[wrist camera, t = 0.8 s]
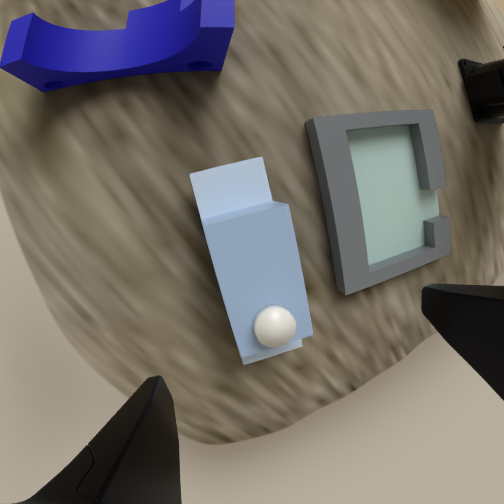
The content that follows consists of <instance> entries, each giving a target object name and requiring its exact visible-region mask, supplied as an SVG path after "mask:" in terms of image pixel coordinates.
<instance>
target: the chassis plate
mask: <svg viewBox="0 0 504 504" xmlns="http://www.w3.org/2000/svg"><path fill="white" fill-rule="evenodd" d="M305 124H306V128H307V133H308V137H309V141H310V145H311V150H312V154H313V158H314V163H315V168H316V172H317V177H318V182H319V187H320V191H321V197H322V202H323V207H324V212H325V218H326V223H327V229H328V235H329V240H330V246H331V253H332V259H333V265H334V272H335V279H336V286H337V289H338V290H339V291H341V292H342V293H343V294H345V295H349V294H351V293H354V292H357V291H359V290H362V289H365V288H367V287H370V286H373V285H375V284H378V283H380V282H383V281H386V280H388V279H391V278H393V277H396V276H398V275H401V274H403V273H406V272H408V271H411V270H413V269H415V268H418V267H420V266H423V265H425V264H427V263H430V262H432V261H434V260H437V259H439V258H441V257H443V256H446V255H448V254H450V253H451V233H450V217H445V216H440V215H439V206H438V197H437V188H441V187H445V186H447V185H446V177H445V170H444V163H443V157H442V151H441V145H440V140H439V135H438V130H437V125H436V121H435V116H434V112H433V110H404V111H383V112H368V113H356V114H345V115H335V116H327V117H318V118H313V119H311V120H309V121H307V122H305Z"/></svg>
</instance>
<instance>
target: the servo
mask: <svg viewBox="0 0 504 504" xmlns="http://www.w3.org/2000/svg"><path fill="white" fill-rule="evenodd" d="M190 178H191V182H192V186H193V190H194V194H195V198H196V202H197V206H198V210H199V213H200V217H201V221H202V225H203V229H204V233H205V236H206V240H207V244H208V247H209V251H210V255H211V258H212V262H213V265H214V269H215V272H216V276H217V279H218V283H219V286H220V290H221V293H222V297H223V300H224V303H225V307H226V310H227V313H228V317H229V320H230V323H231V327H232V330H233V333H234V336H235V340H236V343H237V346H238V349H239V352H240V356H241V358H242V361H243V365H246V364H249V363H252V362H256V361H259V360H262V359H265V358H269V357H272V356H275V355H278V354H281V353H284V352H287V351H290V350H293V349H296V348H299V347H302V341H301V339H302V338H305V337H308V336H311V335H313V330H312V324H311V318H310V312H309V306H308V301H307V295H306V290H305V284H304V279H303V273H302V268H301V263H300V258H299V253H298V248H297V243H296V238H295V233H294V228H293V223H292V218H291V214H290V209H289V204H285V203H280V202H276V201H272V196H271V192H270V188H269V183H268V179H267V175H266V171H265V166H264V162H263V158H262V157H258V158H253V159H249V160H244V161H240V162H236V163H231V164H227V165H223V166H219V167H215V168H211V169H207V170H203V171H199V172H196V173H192V174H190Z"/></svg>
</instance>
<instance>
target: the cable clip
mask: <svg viewBox="0 0 504 504" xmlns="http://www.w3.org/2000/svg"><path fill="white" fill-rule="evenodd" d="M233 30H234V0H168V1H165V2H163V3H160V4H157V5H154V6H150V7H146V8H142V9H137V10H132V11H129V14H128V20H127V27H126V29H120V30H108V31H85V30H75V29H68V28H63V27H60V26H56V25H53V24H50V23H48V22H46V21H44V20H42V19H41V18H39V17H38V16H36V15H35V14H34V13H31V14H28V15H26V16H23V17H21V18H18V19H16V20H13V21H12V22H11V25H10V28H9V31H8V35H7V38H6V42H5V46H4V49H3V53H2V58H1V62H0V68H1V69H3V70H5V71H7V72H9V73H10V74H12V75H14V76H16V77H17V78H19V79H21V80H23V81H24V82H26V83H28V84H30V85H31V86H33V87H35V88H37V89H38V90H40V91H42V92H48V91H52V90H56V89H60V88H64V87H69V86H73V85H78V84H83V83H88V82H93V81H99V80H105V79H111V78H118V77H126V76H134V75H143V74H153V73H166V72H183V71H222V67H223V64H224V60H225V57H226V53H227V50H228V46H229V43H230V40H231V36H232V33H233Z"/></svg>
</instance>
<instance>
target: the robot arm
mask: <svg viewBox="0 0 504 504" xmlns="http://www.w3.org/2000/svg"><path fill="white" fill-rule="evenodd" d="M503 48H504V46H503ZM459 64H460V67H461V70H462V73H463V77H464V80H465V83H466V87H467V90H468V94H469V98H470V102H471V106H472V110H473V115H474V119H475V121H476V122H477V123H504V59H502V60H497V61H493V62H489V63H485V64H482V63H478V62H474V61H470V60H467V59H460V60H459ZM421 308H422V312H423V314H424V316H425V317H426V318H427V319H428V320H429V322H430V323H431V324H432V325H433V326H434V327H435V329H436V330H437V331H438V332H439V333H440V334H441V336H442V337H443V338H444V339H445V340H446V341H447V342H448V343H449V345H450V346H451V347H452V348H453V349H454V350H455V351H457V353H458V354H459V355H460V356H461V357H463V359H464V360H465V361H467V363H468V364H469V365H471V367H472V368H473V369H474V370H475V371H476V372H477V373H478V374H479V375H480V376H481V377H482V378H483V379H484V380H485V381H486V382H487V383H488V384H489V385H490V387H491V388H492V389H493V390H494V391H495V392H496V393H497V394H498V395H499V396H500V397H501V398H502V399H503V400H504V286H486V285H457V284H429V285H427V286H425V287H423V289H422V305H421ZM181 503H182V502H181V486H180V461H179V439H178V432H177V425H176V418H175V411H174V403H173V398H172V396H171V393H170V392H169V390H168V388H167V386H166V384H165V382H164V380H163V378H162V377H161V376H154V377H149V378H147V379H146V381H145V382H144V383H143V384H142V385H141V386H140V387H139V388H138V389H137V390H136V392H135V393H134V394H133V395H132V396H131V397H130V398H129V399H128V400H127V402H126V403H125V404H124V405H123V406H122V407H121V408H120V409H119V410H118V411H117V413H116V414H115V415H114V416H113V417H112V418H111V419H110V420H109V421H108V422H107V424H106V425H105V426H104V427H103V428H102V429H101V430H100V431H99V432H98V434H96V436H95V437H94V438H93V439H92V440H91V441H90V442H89V443H88V445H86V447H85V448H84V449H83V450H82V451H81V452H80V453H79V454H78V455H77V456H76V457H75V458H74V459H73V460H72V461H71V462H70V463H69V464H68V465H67V466H66V467H65V468H64V469H63V470H62V471H61V472H60V473H59V474H57V475H56V476H55V477H54V478H53V479H52V480H51V481H49V482H48V483H47V484H46V485H45V486H44V487H43V488H41V489H40V490H39V491H38V492H37V493H36V494H35V495H33V496H32V497H31V498H29V499H27V500H25V501H23V502H19V503H14V504H181Z"/></svg>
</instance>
